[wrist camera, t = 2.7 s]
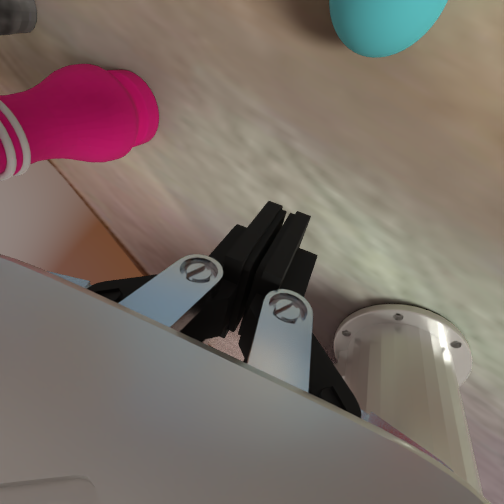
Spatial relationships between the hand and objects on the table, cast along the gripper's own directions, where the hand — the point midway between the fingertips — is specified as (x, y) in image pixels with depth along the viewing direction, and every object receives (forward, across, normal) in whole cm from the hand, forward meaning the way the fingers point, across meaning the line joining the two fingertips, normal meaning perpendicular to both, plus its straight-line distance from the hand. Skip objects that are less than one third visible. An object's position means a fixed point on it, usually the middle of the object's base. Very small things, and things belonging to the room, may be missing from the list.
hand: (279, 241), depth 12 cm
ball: (+12, 0, -9) cm, 15 cm away
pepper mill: (+15, +19, +2) cm, 24 cm away
